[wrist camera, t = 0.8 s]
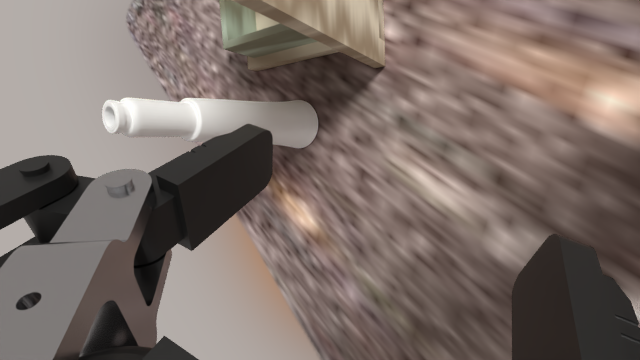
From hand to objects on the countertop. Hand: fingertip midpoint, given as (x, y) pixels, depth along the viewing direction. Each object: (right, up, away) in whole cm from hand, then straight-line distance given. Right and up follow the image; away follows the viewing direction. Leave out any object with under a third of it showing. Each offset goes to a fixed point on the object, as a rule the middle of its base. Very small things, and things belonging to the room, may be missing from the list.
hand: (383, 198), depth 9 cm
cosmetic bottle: (-4, +8, +30) cm, 32 cm away
